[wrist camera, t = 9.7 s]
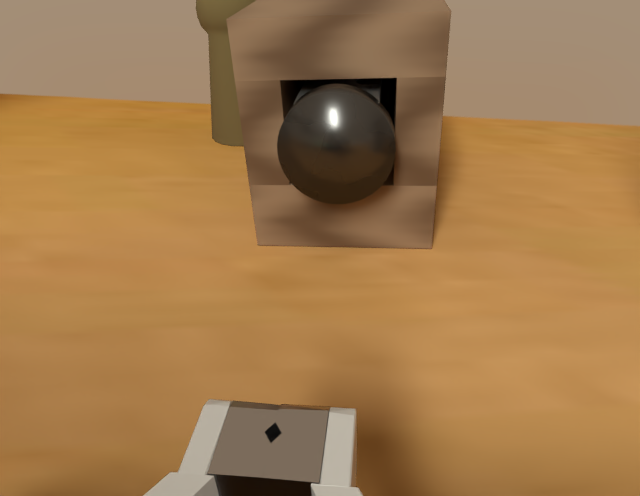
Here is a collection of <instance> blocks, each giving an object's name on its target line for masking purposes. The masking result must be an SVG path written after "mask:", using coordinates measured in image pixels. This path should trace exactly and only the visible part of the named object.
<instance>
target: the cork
mask: <svg viewBox="0 0 640 496" xmlns="http://www.w3.org/2000/svg"><path fill="white" fill-rule="evenodd" d="M255 1H256V0H196V11H197V16H198V19H199V22H200V24H201V26H202V28H203V29H204V30H205V31H206V32H207V33H208V37H209V60H210V61H209V63H210V89H211V117H212V138H213V139H214V140H215V141H216V142H218V143H220V144H223V145H230V146H244V143H243V135H242V128H241V121H240V114H239V107H238V100H237V92H236V85H235V78H234V71H233V64H232V56H231V49H230V42H229V35H228V28H227V21H226V19H227V18H229V17H231V16H232V15H234V14H235V13H237V12H239V11H240V10H242V9H243V8H245V7H247V6H248V5H250V4H251V3H253V2H255Z"/></svg>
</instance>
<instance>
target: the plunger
mask: <svg viewBox="0 0 640 496" xmlns="http://www.w3.org/2000/svg"><path fill="white" fill-rule="evenodd" d="M277 153H278V159H279V162H280V165H281V168H282V170H283V172H284V174H285V175H286V177H287V179H288V180H289V181H290V182H291V184H292V185H293V186H294V187H295V188H296V189H298V190H299V191H300V192H301V193H303V194H304V195H306V196H308V197H310V198H312V199H314V200H317V201H320V202H323V203H328V204H347V203H353V202H356V201H359V200H362V199H364V198H366V197H368V196H369V195H371V194H373V193H374V192H375V191H376V190H378V189H379V188H380V187H381V186H382V185H383V183H384V182H385V181H386V179H387V178H388V176H389V174H390V172H391V170H392V167H393V164H394V160H395V153H396V147H395V130H394V126H393V122H392V119H391V117H390V115H389V113H388V112H387V110H386V109H385V107H384V106H383V105H382V78H362V79H315V80H305V82H304V84H303V86H302V88H301V90H300V92H299V94H298V96H297V97H296V99H295V101H294V104H293V106H292V107H291V108H290V110H289V112H288V114H287V115H286V117H285V119H284V121H283V123H282V125H281V128H280V131H279V135H278V140H277Z"/></svg>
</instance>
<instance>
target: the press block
mask: <svg viewBox="0 0 640 496" xmlns="http://www.w3.org/2000/svg"><path fill="white" fill-rule="evenodd" d="M450 18H451V10H450V8H449V7H448V5H447V4H446V2H445V1H444V0H256V1H255V2H253V3H251V4H250V5H248V6H247V7H245V8H243V9H242V10H240V11H239V12H237V13H235V14H234V15H232V16H231V17H229V18H227V19H226V21H227V28H228V35H229V42H230V49H231V56H232V64H233V71H234V78H235V85H236V92H237V100H238V107H239V114H240V121H241V128H242V135H243V143H244V150H245V157H246V164H247V171H248V179H249V186H250V193H251V200H252V207H253V214H254V222H255V229H256V236H257V243H258V245H277V246H327V247H378V248H428V249H432V238H433V226H434V214H435V202H436V189H437V177H438V165H439V153H440V141H441V128H442V116H443V104H444V91H445V80H446V67H447V55H448V42H449V30H450ZM362 78H382V105H383V106H384V107H385V109H386V110H387V112H388V113H389V115H390V117H391V119H392V122H393V126H394V130H395V147H396V153H395V160H394V164H393V167H392V170H391V172H390V174H389V176H388V178H387V179H386V181H385V182H384V183H383V185H382V186H381V187H380V188H379V189H378V190H376V191H375V192H374V193H373V194H371V195H369V196H368V197H366V198H364V199H362V200H359V201H356V202H353V203H347V204H328V203H323V202H320V201H317V200H314V199H312V198H310V197H308V196H306V195H304V194H303V193H301V192H300V191H299V190H298V189H296V188H295V187H294V186H293V185H292V184H291V182H290V181H289V180H288V179H287V177H286V175H285V174H284V172H283V170H282V168H281V165H280V162H279V159H278V153H277V140H278V135H279V131H280V128H281V125H282V123H283V121H284V119H285V117H286V115H287V114H288V112H289V110H290V108H291V107H292V106H293V104H294V101H295V99H296V97H297V96H298V94H299V92H300V90H301V88H302V86H303V84H304V82H305V80H315V79H362Z"/></svg>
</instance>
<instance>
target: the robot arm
mask: <svg viewBox="0 0 640 496" xmlns="http://www.w3.org/2000/svg"><path fill="white" fill-rule="evenodd" d="M356 475H357V410H356V409H353V408H336V407H329V406H309V405H289V404H281V405H274V404H263V403H252V402H241V401H229V400H216V399H209V400H208V401H207V402H206V404H205V405H204V406H203V409H202V411H201V414H200V416H199V419H198V422H197V424H196V427H195V429H194V432H193V434H192V437H191V439H190V442H189V445H188V447H187V450H186V452H185V455H184V457H183V460H182V463H181V465H180V468H179V470H178V472H170V473H169V474H167V475H166V476H165V477H164V478H163V479H162V480H160V481H159V482H158V483H157V484H156V485H155V486H154V487H152V488H151V489H150V490H149V491H148V492H147V493H145V494H144V495H143V496H363V494H362V493H361V491H360V489H359V488H358V487H356Z"/></svg>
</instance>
